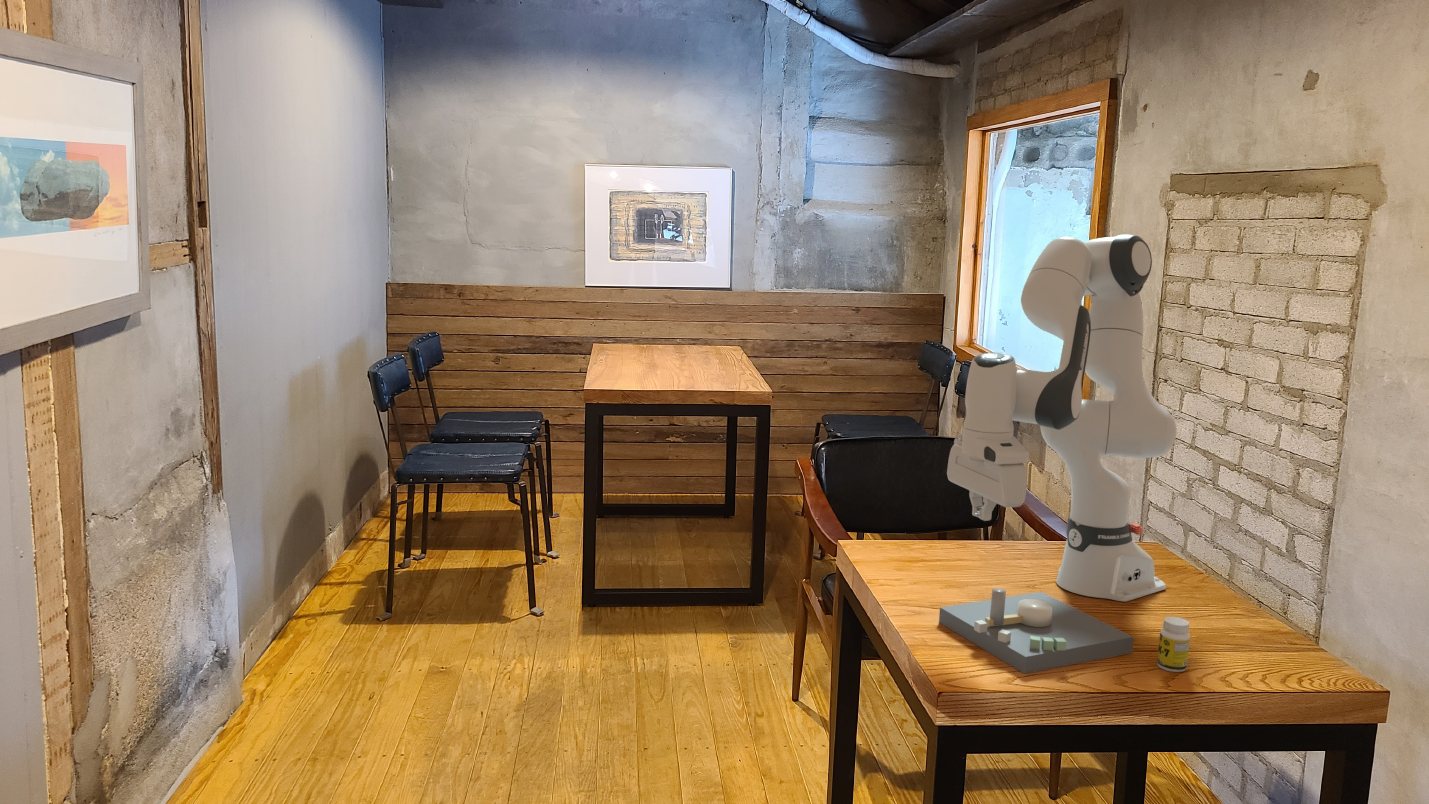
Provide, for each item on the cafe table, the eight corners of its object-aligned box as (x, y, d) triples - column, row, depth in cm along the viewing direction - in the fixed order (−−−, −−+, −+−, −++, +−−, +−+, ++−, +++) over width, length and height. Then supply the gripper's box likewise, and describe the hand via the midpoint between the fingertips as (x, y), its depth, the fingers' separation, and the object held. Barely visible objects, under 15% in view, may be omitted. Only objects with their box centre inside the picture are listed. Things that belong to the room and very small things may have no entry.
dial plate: (1039, 606, 215) (1041, 583, 214) (1133, 653, 193) (1135, 629, 192) (935, 623, 205) (937, 599, 204) (1021, 675, 183) (1023, 649, 182)
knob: (1038, 613, 202) (1040, 579, 201) (1058, 625, 197) (1061, 590, 196) (977, 620, 198) (979, 585, 197) (996, 632, 193) (999, 597, 191)
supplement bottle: (1151, 661, 190) (1156, 615, 189) (1177, 661, 191) (1182, 615, 189) (1165, 673, 186) (1170, 626, 184) (1191, 672, 186) (1197, 626, 184)
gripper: (941, 432, 205) (936, 503, 208) (1004, 457, 186) (998, 535, 189) (970, 430, 207) (965, 501, 210) (1035, 455, 188) (1029, 532, 191)
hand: (981, 517), depth 199 cm, fingers closed
